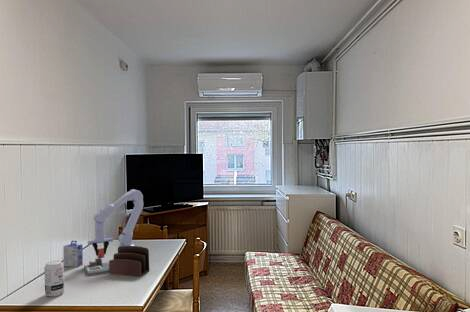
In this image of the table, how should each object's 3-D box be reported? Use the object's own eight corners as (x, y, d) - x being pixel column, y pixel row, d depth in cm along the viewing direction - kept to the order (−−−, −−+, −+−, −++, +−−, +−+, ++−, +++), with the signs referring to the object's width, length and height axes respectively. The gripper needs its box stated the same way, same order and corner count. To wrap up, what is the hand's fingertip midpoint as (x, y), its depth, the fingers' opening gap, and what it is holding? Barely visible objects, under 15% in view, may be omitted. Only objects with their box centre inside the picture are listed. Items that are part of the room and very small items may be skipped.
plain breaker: (100, 263, 233) (100, 258, 233) (101, 264, 229) (101, 259, 229) (95, 263, 231) (95, 258, 231) (96, 265, 228) (96, 260, 228)
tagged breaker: (94, 265, 227) (94, 260, 227) (96, 267, 224) (95, 262, 224) (89, 266, 226) (89, 261, 226) (90, 268, 222) (90, 262, 222)
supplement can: (49, 291, 190) (48, 261, 190) (66, 290, 191) (65, 260, 191) (42, 297, 182) (41, 265, 182) (60, 297, 183) (59, 265, 183)
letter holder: (118, 269, 226) (118, 244, 226) (149, 271, 221) (149, 246, 220) (108, 274, 216) (108, 249, 216) (141, 276, 211) (140, 250, 211)
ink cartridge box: (83, 264, 236) (82, 240, 236) (78, 267, 231) (77, 242, 230) (68, 263, 238) (68, 240, 238) (63, 266, 233) (62, 242, 232)
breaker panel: (106, 264, 235) (106, 260, 235) (113, 271, 220) (113, 267, 220) (84, 267, 229) (83, 263, 229) (88, 275, 214) (88, 271, 214)
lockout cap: (103, 255, 240) (103, 247, 240) (105, 257, 237) (104, 249, 237) (96, 256, 238) (96, 248, 238) (98, 258, 235) (97, 250, 235)
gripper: (111, 229, 244) (111, 251, 245) (86, 232, 237) (87, 255, 238) (113, 231, 238) (114, 253, 239) (88, 234, 231) (89, 257, 231)
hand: (100, 254), depth 238 cm, fingers closed on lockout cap, 4 cm apart
